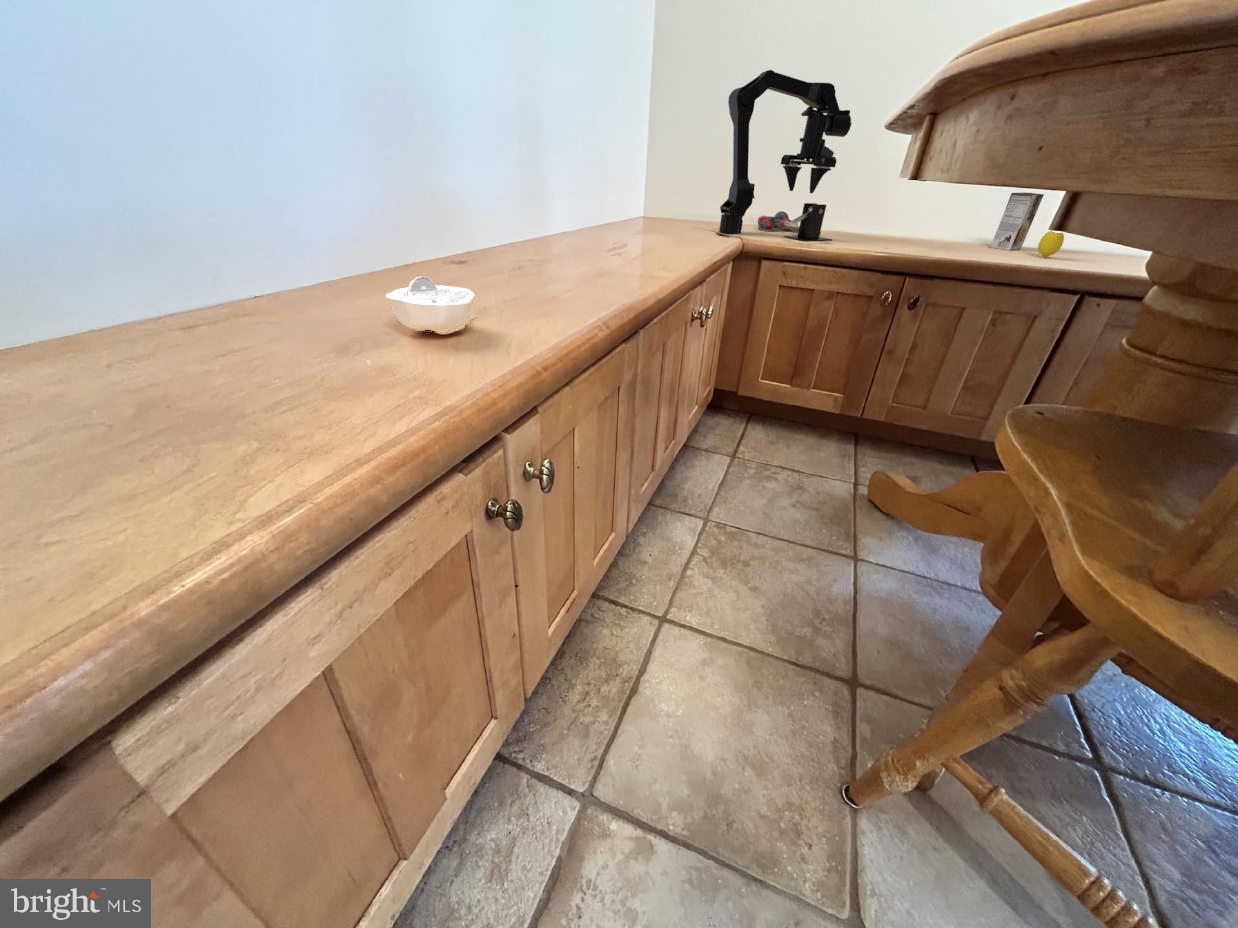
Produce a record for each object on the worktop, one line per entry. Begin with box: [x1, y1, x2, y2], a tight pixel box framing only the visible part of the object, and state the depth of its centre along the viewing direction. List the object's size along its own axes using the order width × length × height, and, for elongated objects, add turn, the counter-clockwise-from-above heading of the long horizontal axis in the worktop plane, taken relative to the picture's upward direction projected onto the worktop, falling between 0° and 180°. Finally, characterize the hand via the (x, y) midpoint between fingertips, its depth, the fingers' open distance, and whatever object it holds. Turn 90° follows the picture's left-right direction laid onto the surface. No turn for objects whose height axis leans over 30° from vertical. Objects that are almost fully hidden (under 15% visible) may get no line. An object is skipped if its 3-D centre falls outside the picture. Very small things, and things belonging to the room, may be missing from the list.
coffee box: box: [989, 192, 1045, 251], centre depth 161 cm, size 9×6×16 cm
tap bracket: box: [783, 202, 833, 243], centre depth 157 cm, size 12×9×11 cm
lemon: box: [1037, 230, 1065, 259], centre depth 147 cm, size 6×6×8 cm
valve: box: [757, 210, 822, 235], centre depth 175 cm, size 6×26×15 cm
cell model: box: [385, 276, 476, 336], centre depth 65 cm, size 10×12×7 cm
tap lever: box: [784, 205, 813, 227], centre depth 155 cm, size 11×5×2 cm, turn 115°
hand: (801, 192), depth 162 cm, fingers open, 9 cm apart
